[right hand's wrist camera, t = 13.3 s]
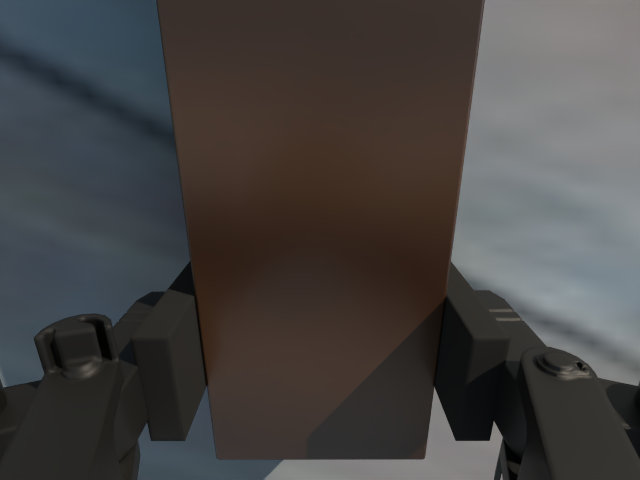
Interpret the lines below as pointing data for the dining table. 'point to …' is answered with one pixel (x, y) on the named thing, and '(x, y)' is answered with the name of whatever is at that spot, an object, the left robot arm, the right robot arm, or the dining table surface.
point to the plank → (320, 212)
